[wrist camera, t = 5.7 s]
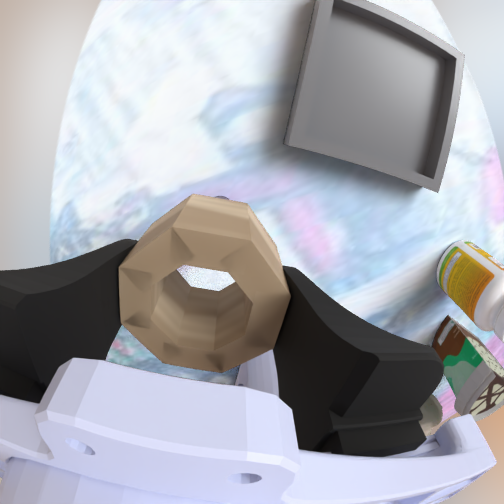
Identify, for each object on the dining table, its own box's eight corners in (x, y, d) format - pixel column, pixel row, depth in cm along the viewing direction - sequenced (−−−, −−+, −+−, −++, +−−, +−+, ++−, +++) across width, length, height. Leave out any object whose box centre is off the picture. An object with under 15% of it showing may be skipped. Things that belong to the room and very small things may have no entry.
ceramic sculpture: (475, 420, 22) (423, 468, 29) (448, 370, 29) (408, 427, 36) (403, 447, 21) (361, 487, 28) (381, 386, 29) (349, 440, 36)
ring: (257, 316, 14) (263, 377, 11) (147, 298, 14) (123, 354, 10) (285, 210, 12) (305, 250, 8) (155, 187, 11) (119, 218, 8)
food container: (403, 353, 27) (443, 423, 18) (441, 310, 25) (494, 375, 16) (451, 373, 30) (483, 426, 21) (481, 340, 28) (520, 390, 19)
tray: (423, 186, 20) (438, 192, 18) (283, 143, 18) (288, 145, 16) (449, 57, 15) (464, 54, 13) (316, -4, 14) (323, -15, 12)
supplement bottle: (434, 297, 24) (490, 362, 15) (433, 250, 22) (503, 311, 13) (473, 277, 24) (531, 331, 15) (474, 230, 21) (545, 279, 13)
